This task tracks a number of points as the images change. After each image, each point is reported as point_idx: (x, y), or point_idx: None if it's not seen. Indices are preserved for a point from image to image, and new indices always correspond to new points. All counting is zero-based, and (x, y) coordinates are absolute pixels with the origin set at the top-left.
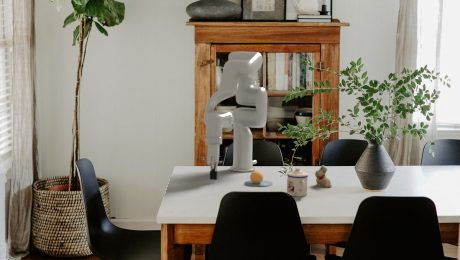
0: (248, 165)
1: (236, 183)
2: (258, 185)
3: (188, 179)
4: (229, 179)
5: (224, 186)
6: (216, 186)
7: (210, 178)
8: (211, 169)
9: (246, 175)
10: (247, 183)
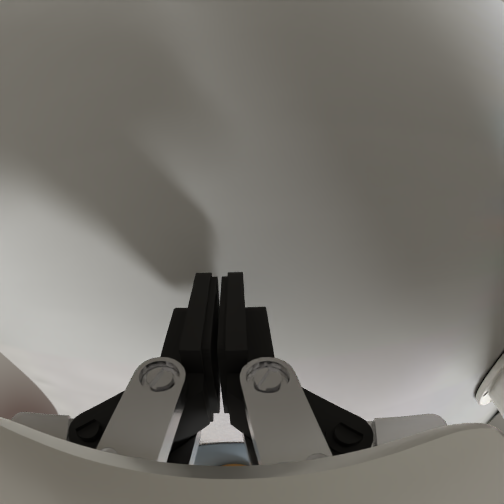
0: (495, 404)
1: (223, 420)
2: None
3: (365, 8)
4: (356, 378)
5: (102, 364)
6: (76, 314)
7: (195, 283)
8: (132, 400)
9: (426, 410)
10: (220, 451)
